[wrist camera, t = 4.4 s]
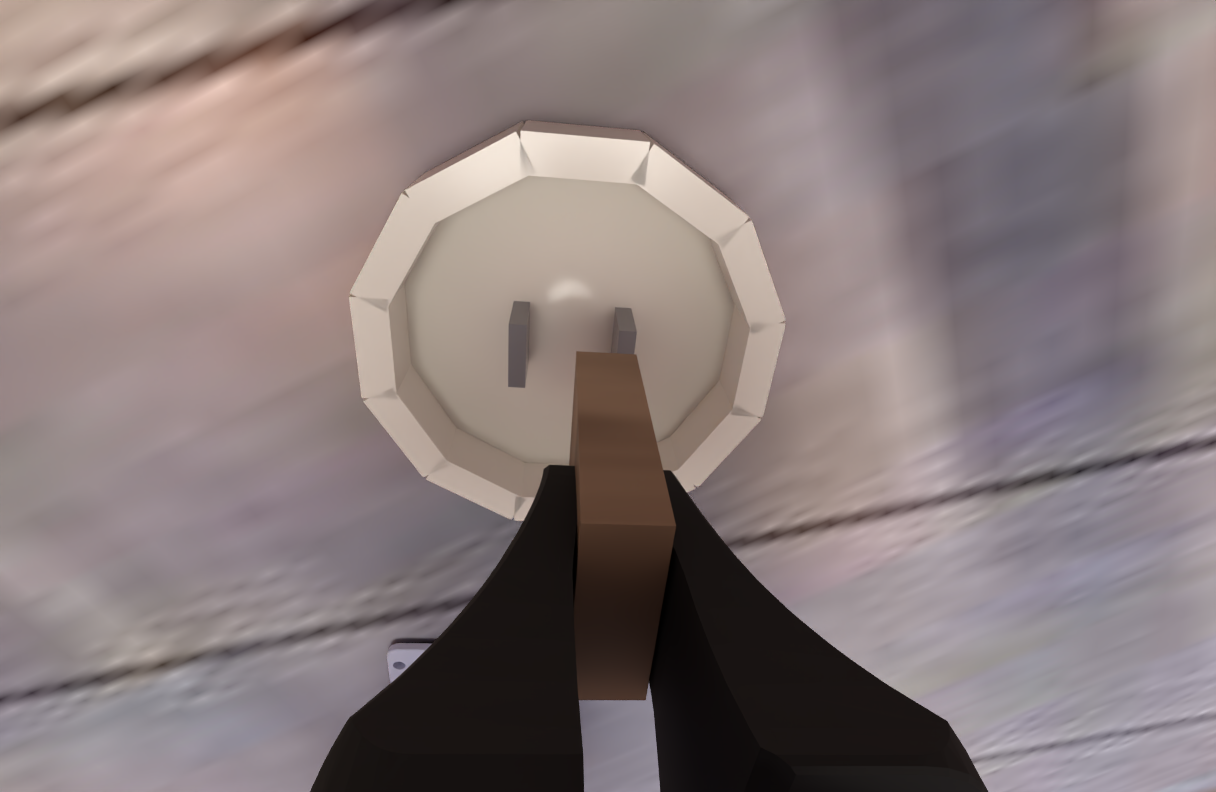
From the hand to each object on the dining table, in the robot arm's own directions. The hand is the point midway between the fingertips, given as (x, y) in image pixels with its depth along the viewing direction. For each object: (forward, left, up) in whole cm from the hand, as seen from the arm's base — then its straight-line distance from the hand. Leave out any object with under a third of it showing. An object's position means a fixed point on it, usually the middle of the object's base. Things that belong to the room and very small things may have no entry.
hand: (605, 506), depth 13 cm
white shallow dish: (0, +1, -8) cm, 8 cm away
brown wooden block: (0, 0, -3) cm, 3 cm away
